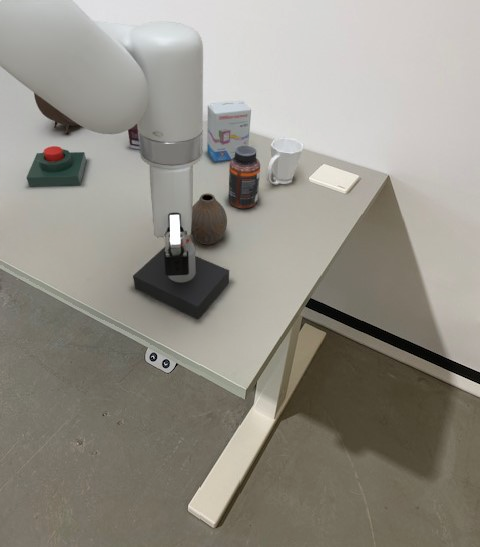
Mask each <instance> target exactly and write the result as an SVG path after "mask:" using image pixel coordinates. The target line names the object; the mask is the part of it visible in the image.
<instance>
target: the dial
mask: <svg viewBox="0 0 480 547" xmlns="http://www.w3.org/2000/svg"><path fill="white" fill-rule="evenodd" d="M180 242H181V246H182V238H180ZM170 246H171V241H169V247H170ZM186 248H187V251H188V255H189V274H188V275H176V276H168V277H169V278H170V279H171V280H172V281H175V282H180V283H181V282H187V281H190V280H191V279H193V278H194V276H195V274H196V265H195V256H196V246H195V244H194V243H193V242H192V241H190V239H189V238H188V237H186ZM165 252H166V250H165Z"/></svg>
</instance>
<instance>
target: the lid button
mask: <svg viewBox="0 0 480 547" xmlns="http://www.w3.org/2000/svg"><path fill="white" fill-rule="evenodd" d="M62 149H63V148H62V147H60V146H59V145H58V146H57V145H56V146H54V145H53V146H48V147H46V148H44V149H43V152H44V155H45V158H46V160H47V161H59V160H62V159H63V158H64V155H63V151H62Z"/></svg>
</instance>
